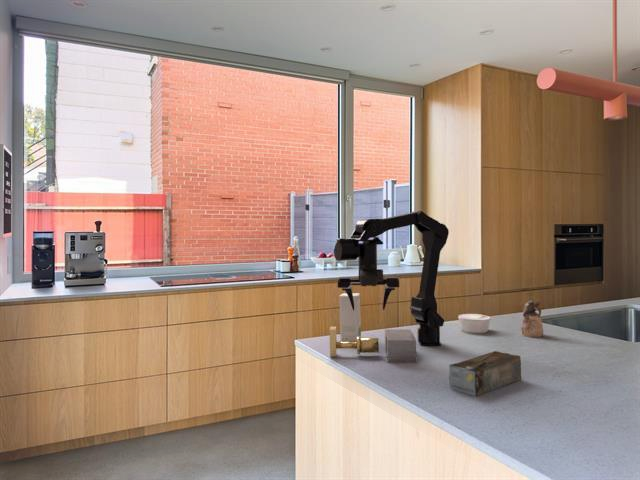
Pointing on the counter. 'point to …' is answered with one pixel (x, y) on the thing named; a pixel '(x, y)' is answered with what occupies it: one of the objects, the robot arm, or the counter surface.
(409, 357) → the housing
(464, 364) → the beverage carton
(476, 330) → the ramekin
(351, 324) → the skincare box
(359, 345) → the brass door handle
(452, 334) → the counter surface
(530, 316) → the figurine
